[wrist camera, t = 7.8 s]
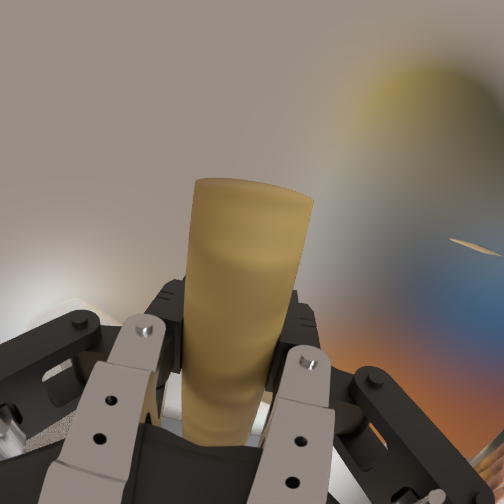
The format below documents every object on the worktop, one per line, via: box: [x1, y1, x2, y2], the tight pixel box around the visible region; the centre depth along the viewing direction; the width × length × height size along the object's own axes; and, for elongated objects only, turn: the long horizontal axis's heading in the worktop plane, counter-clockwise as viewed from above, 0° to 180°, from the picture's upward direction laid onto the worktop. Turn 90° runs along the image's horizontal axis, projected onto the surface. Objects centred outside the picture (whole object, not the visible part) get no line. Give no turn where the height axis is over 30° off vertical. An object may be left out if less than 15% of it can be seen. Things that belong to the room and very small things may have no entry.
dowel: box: [182, 178, 314, 446], centre depth 9 cm, size 3×3×12 cm
